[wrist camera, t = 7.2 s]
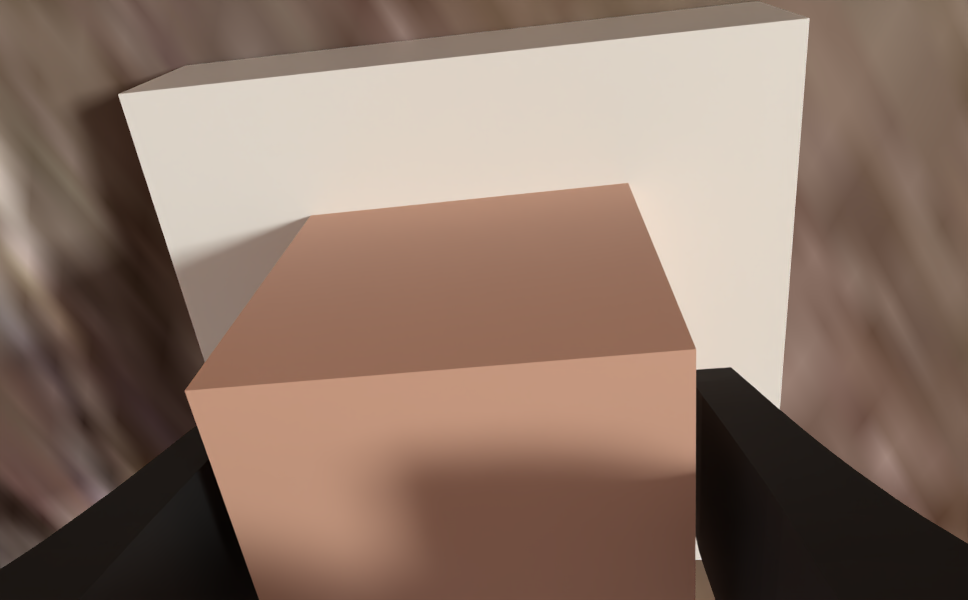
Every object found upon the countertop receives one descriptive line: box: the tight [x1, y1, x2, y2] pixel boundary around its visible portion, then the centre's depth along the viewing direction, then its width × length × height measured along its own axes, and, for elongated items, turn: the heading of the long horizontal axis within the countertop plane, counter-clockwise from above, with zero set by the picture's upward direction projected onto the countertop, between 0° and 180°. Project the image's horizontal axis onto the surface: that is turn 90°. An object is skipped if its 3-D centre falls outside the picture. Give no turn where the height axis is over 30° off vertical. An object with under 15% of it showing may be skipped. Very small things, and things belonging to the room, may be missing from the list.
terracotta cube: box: [185, 183, 696, 600], centre depth 11 cm, size 5×5×5 cm
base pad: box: [118, 1, 809, 560], centre depth 14 cm, size 10×10×2 cm
